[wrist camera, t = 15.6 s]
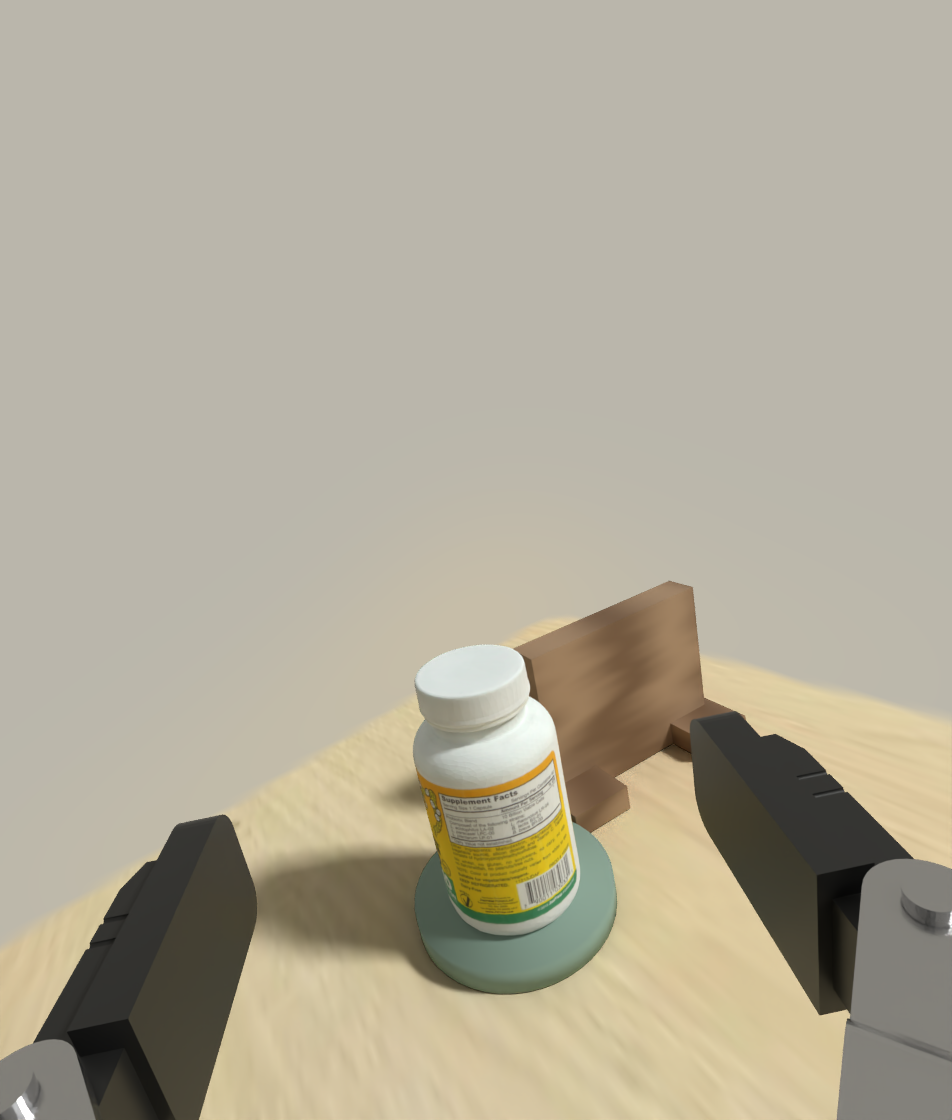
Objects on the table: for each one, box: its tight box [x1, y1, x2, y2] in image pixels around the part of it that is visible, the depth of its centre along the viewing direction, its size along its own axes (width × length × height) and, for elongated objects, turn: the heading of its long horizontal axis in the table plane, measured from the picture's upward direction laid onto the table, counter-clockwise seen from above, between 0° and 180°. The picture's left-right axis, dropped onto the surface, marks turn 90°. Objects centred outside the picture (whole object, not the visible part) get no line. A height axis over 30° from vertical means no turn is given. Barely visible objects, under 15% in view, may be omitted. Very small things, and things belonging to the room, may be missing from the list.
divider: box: [514, 581, 746, 833], centre depth 33 cm, size 11×6×8 cm, turn 120°
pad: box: [415, 822, 617, 994], centre depth 26 cm, size 8×8×1 cm
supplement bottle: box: [413, 645, 580, 936], centre depth 24 cm, size 5×5×10 cm
